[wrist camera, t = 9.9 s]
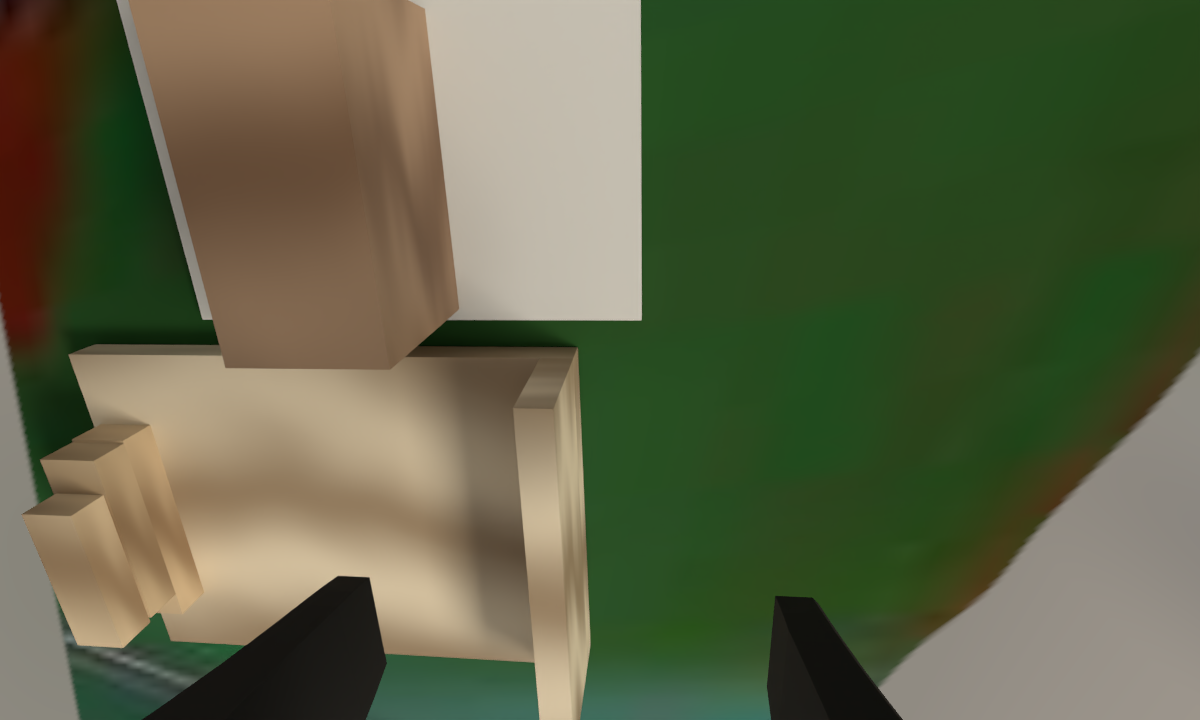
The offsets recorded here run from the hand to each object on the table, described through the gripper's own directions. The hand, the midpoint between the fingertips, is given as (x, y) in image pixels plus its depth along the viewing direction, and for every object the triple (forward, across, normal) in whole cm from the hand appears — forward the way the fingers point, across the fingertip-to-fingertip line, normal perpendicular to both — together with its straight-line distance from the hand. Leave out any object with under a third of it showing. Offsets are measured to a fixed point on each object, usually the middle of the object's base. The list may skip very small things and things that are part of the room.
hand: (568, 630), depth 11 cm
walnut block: (+9, +6, -7) cm, 13 cm away
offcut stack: (+8, +16, +4) cm, 19 cm away
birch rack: (+9, +10, +4) cm, 14 cm away
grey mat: (+9, +6, -8) cm, 14 cm away
